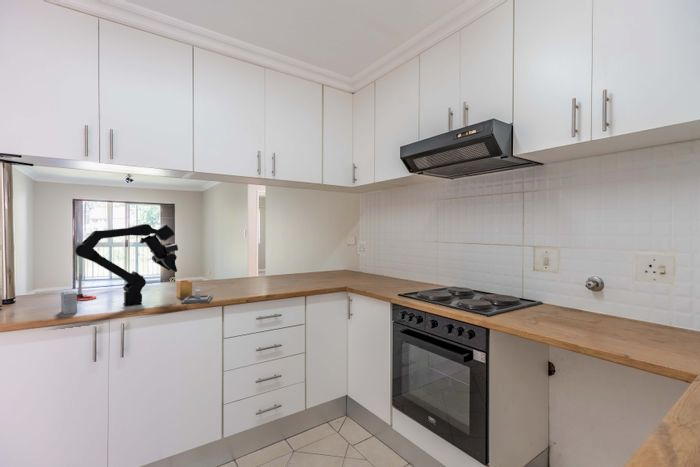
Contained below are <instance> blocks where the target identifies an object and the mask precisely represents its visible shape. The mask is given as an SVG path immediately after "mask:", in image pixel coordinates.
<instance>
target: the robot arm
mask: <svg viewBox="0 0 700 467" xmlns="http://www.w3.org/2000/svg"><path fill="white" fill-rule="evenodd" d="M151 234H152V235H151ZM175 235H176V234H175V232H174V230H173V229H172V228H171V227H170V226H169V225H168V224H164V225H163V226H162V227H160V228H158V229H156V228H153V227H152V226H151V225H150V224H148V223H141V224H137V225H133V226H130V227H126V228H125V227H123V228H115V229H103V230H94V231H92V232H91V233H90V235H89V236H88V237H86V238H85V239H84V240H83V241H82V242H81V243H78V244H76V245H75V246H74V247H73V251H72V252H73V253H74V255H76V256H78V257H80V258H83V259H84V260H85V259H86V260H88V261H91V262H93V263H95V264H96V265H98V266H100V267H102V268H104V269H106V270H107V271H109V272H110V273H113V274H114V275H116V276H117V277H119V278H120V279H122V280H123V281H124V282H125V283H126V284H124V286H123V287H122V288H123V290H124V292H123V304H122V305H124V307H130V306H138V305H142V303H143V293H141V292H142V290H143V288H144V287H145V286H146V284H147V281H146V279H145V278H144V277H145V276H143V275H141V274H140V273H138V272H137V271H135V270H132V272H129V271H127V270H126V269H125V268H123V267H121V266H119V265H117V264H116V263H114V262H112V261H110V260H109V259H107V258H106V257H104V256H102V255H101V254H100V253H99V252H97V250H96V249H95V247H96V246H97V245H98V244H99V242H100V241H101V240H102V239H110V238H117V237H118V238H119V237H120V238H121V237H127V236H141V238H140V240H139V244H144V243H145V244H146V246H147V247H148V248H149V252H150V253H152V254H153V255H152V257H151V260H152V262H153V263H155V264H157V265H158V266H160V267H162V268H164V269H165V270H167V271H172V272H174V273H177V272H178V269H177V268H178V267H177V265H176V260H177V258H178V256H177V255H176V254H175V253H171V252H174V251H179V246H178V244H177V243H174V244H172V243H171V242H167V243H166V244H162V242H166V241H167V240H169V239H171V238H172V237H174V236H175ZM143 236H145V237H143ZM161 241H162V242H161Z"/></svg>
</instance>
